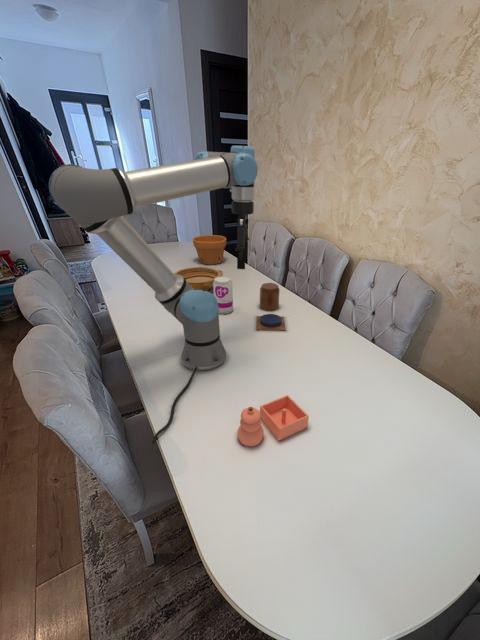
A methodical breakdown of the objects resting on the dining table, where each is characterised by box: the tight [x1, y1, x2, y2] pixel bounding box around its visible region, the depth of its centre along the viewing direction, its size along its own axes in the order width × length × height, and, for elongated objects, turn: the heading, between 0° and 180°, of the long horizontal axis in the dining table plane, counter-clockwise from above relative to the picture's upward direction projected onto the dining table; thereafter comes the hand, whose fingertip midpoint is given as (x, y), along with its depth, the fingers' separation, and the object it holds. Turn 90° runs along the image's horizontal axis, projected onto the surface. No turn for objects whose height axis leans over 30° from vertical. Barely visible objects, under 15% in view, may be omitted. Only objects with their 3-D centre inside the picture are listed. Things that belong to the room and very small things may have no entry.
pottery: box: [237, 394, 310, 448], centre depth 78 cm, size 18×10×10 cm, turn 121°
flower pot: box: [192, 234, 227, 265], centre depth 198 cm, size 21×21×15 cm
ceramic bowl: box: [173, 266, 224, 292], centre depth 160 cm, size 30×24×8 cm
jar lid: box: [260, 313, 282, 327], centre depth 130 cm, size 9×9×2 cm
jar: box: [259, 282, 281, 312], centre depth 142 cm, size 9×9×10 cm
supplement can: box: [212, 275, 234, 315], centre depth 136 cm, size 8×8×15 cm
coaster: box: [256, 315, 287, 332], centre depth 130 cm, size 12×12×1 cm
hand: (242, 263), depth 115 cm, fingers open, 13 cm apart
